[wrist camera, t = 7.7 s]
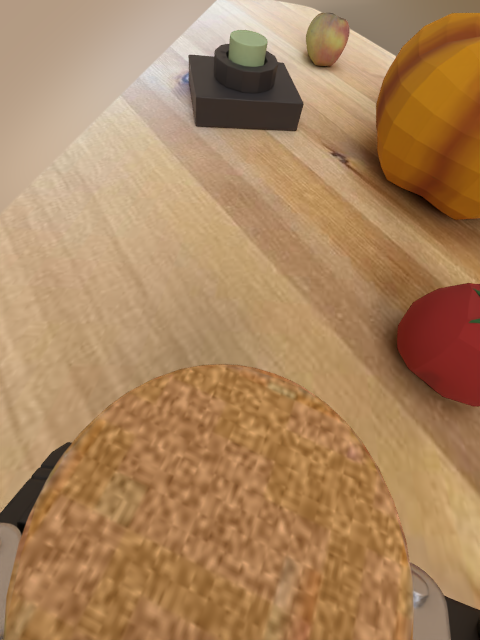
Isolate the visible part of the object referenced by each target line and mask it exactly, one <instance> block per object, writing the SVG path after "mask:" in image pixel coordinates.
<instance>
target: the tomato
mask: <svg viewBox="0 0 480 640" xmlns="http://www.w3.org/2000/svg"><path fill="white" fill-rule="evenodd" d="M397 349H398V351H399V353H400V355H401V356H402V358H403V360H404V362H405V363H406V365H407V367H408V369H409V370H411V371H412V372H413V373H414V374H416V375H417V376H418V377H419V378H420V379H422V380H423V381H424V382H425V383H427V384H428V385H429V386H430V387H431V388H433V389H434V390H435V391H436V392H437V393H439V394H440V395H441V396H442V397H446V398H449V399H452V400H455V401H458V402H462V403H465V404H468V405H471V406H480V284H471V283H467V284H461V285H455V286H450V287H445V288H439V289H437V290H435V291H433V292H431V293H429V294H427V295H425V296H423V297H422V298H420V299H418V300H417V301H415V302H413V304H412V305H411V306H410V308H409V309H408V311H407V312H406V314H405V315H404V317H403V318H402V320H401V322H400V323H399V325H398V334H397Z"/></svg>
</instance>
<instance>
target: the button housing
mask: <svg viewBox="0 0 480 640" xmlns="http://www.w3.org/2000/svg"><path fill="white" fill-rule="evenodd" d="M228 57H229V44H225V45H221V46H220V47H218V48H217V49H216V50H215V56H214V57H211V56H200V55H189V86H190V92H191V98H192V105H193V111H194V117H195V123H196V126H204V127H226V128H248V129H270V130H292V131H296V129H297V126H298V122H299V119H300V115H301V111H302V108H303V102H302V99H301V97H300V95H299V93H298V91H297V89H296V87H295V85H294V83H293V81H292V79H291V77H290V75H289V73H288V71H287V69H286V67H285V65H284V63H279V62H277V60H276V58H275V56H274V55H272V54H271V53H269V52H268V51H266V54H265V61H264V65H263V66H258V67H250V66H243V65H240V64H236V63H234V62H232V61H231V60H230V59H229V58H228Z"/></svg>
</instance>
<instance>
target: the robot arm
mask: <svg viewBox="0 0 480 640" xmlns="http://www.w3.org/2000/svg"><path fill="white" fill-rule="evenodd" d="M71 444H72V443H70V442H67V443H66V444H64V445H63V446H61V447H59V448H58V449H56V450H55V451H53V452H52V453H51V454H50V455H49V456H48V457H47V459H46V460H45V461H44V462H43V463H42V465H41V467H40V468H38V469H37V471H36V472H35V473H34V474H33V475H32V478H31V479H29V480H28V481H27V482H26V484H25V485H24V486H23V487H22V488H21V489H20V491H19V492H18V493H17V494H16V495H15V497H14V498H13V499H12V500H11V501H10V502H9V504H8V505H7V506H6V507H5V508H4V510H3V511H2V512H1V513H0V640H3V639H4V625H5V611H6V597H7V592H8V587H9V583H10V579H11V575H12V570H13V566H14V562H15V557H16V553H17V549H18V545H19V542H20V539H21V536H22V534H23V531H24V528H25V525H26V522H27V520H28V517H29V515H30V513H31V511H32V509H33V507H34V505H35V503H36V501H37V499H38V497H39V495H40V493H41V491H42V489H43V487H44V485H45V483H46V481H47V479H48V477H49V475H50V473H51V472H52V470H53V469H54V467H55V466H56V464H57V463H58V461H59V460H60V458H61V457H62V455H63V454H64V452H65V451H66V450H67V449H68V448H69V446H70V445H71ZM410 568H411V574H412V581H413V607H414V614H413V640H480V610H478V609H475V608H473V607H470V606H468V605H465V604H463V603H460V602H458V601H455V600H453V599H450V598H448V597H446V596H444V595H443V593H442V591H441V590H440V588H439V587H438V585H437V584H436V583H435V582H434V580H433V579H432V578H431V577H430V576H429V575H428V574H427V573H425V572H424V571H423V570H422V569H420V568H419V567H418V566H416V565H414V564H412V563H410Z"/></svg>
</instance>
